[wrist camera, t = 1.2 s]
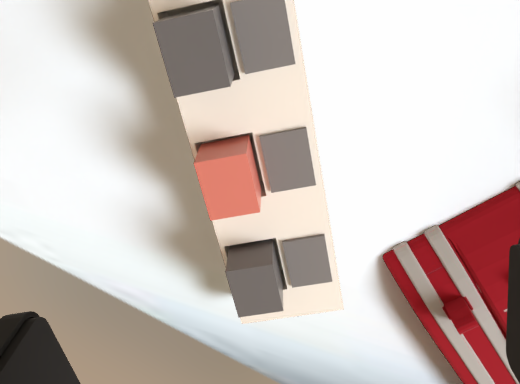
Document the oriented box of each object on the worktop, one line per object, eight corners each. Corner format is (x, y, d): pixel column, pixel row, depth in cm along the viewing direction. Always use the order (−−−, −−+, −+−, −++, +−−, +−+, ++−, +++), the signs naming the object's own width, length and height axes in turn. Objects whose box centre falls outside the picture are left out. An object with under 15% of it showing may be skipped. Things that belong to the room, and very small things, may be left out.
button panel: (118, -157, 26) (95, -175, 22) (260, -195, 25) (258, -220, 21) (244, 295, 40) (241, 326, 36) (337, 281, 39) (344, 311, 35)
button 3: (229, 245, 34) (225, 271, 31) (272, 238, 33) (272, 264, 31) (241, 288, 36) (238, 317, 33) (282, 282, 35) (283, 310, 32)
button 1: (165, 16, 27) (152, 23, 24) (219, 4, 26) (212, 9, 24) (184, 84, 29) (174, 97, 26) (235, 73, 28) (230, 86, 25)
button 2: (201, 143, 30) (193, 163, 27) (249, 134, 30) (246, 153, 27) (215, 197, 32) (210, 220, 29) (261, 189, 32) (260, 212, 29)
